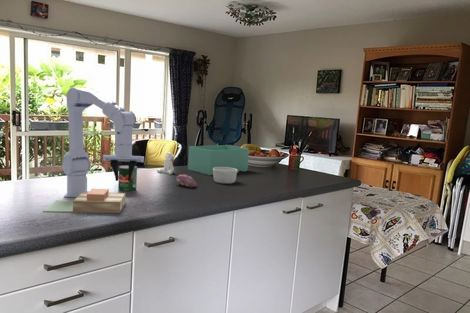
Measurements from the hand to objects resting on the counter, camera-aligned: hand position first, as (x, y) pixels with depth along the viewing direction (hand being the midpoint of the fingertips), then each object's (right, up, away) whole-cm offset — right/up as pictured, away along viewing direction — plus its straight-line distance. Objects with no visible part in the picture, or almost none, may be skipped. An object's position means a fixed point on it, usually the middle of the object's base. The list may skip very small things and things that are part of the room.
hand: (123, 180), depth 144 cm
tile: (-9, -6, -1) cm, 11 cm away
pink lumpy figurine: (+17, -6, +47) cm, 50 cm away
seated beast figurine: (+3, -1, +79) cm, 79 cm away
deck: (-9, -10, 0) cm, 13 cm away
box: (+31, 0, +99) cm, 103 cm away
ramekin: (+36, -5, +63) cm, 73 cm away
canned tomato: (-7, -7, +29) cm, 30 cm away
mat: (-21, -9, -2) cm, 23 cm away
